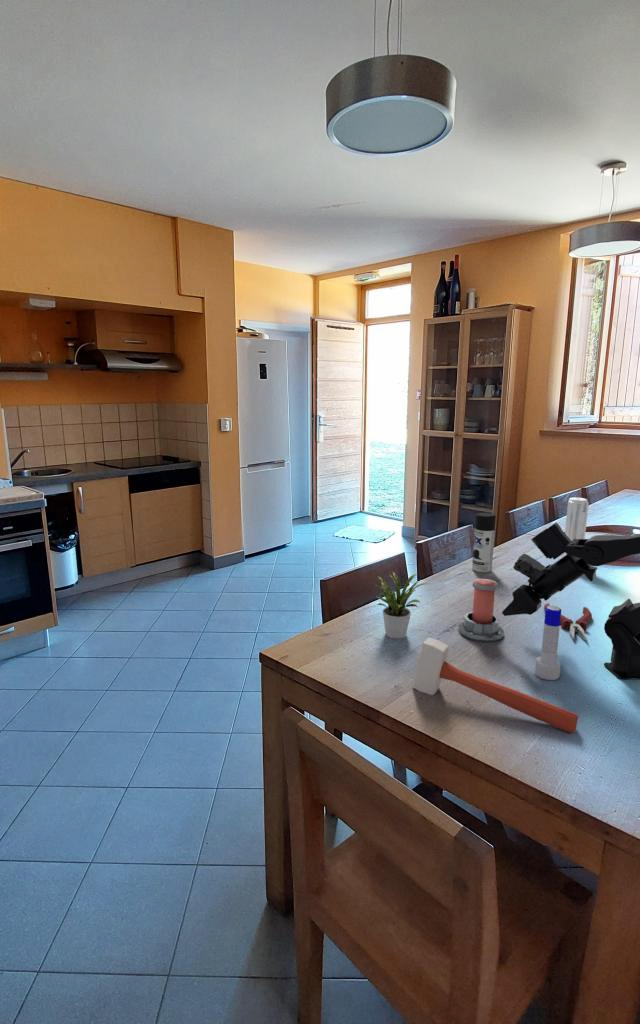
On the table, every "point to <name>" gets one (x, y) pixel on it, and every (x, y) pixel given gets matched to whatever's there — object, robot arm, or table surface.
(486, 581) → the orange capped cylinder
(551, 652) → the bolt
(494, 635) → the pipe socket
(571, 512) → the white tall cylinder
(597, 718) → the table surface
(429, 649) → the mallet
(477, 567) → the spray can
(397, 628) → the house plant
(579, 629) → the pliers
